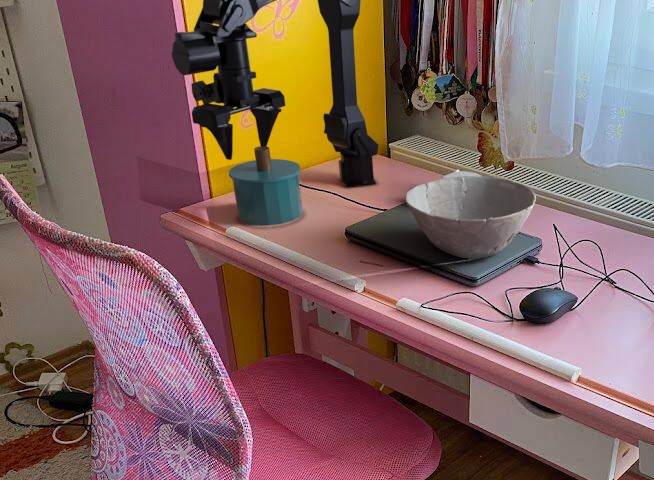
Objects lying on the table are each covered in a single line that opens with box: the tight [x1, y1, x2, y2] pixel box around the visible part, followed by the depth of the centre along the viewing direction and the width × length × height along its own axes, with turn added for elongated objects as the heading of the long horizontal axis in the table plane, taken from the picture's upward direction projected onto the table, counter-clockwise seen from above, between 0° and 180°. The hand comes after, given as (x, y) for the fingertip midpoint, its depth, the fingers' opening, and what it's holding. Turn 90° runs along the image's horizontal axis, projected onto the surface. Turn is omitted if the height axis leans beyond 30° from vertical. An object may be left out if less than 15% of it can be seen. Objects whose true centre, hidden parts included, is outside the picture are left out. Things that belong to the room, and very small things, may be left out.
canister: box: [231, 173, 304, 227], centre depth 166 cm, size 12×12×9 cm
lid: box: [228, 145, 301, 183], centre depth 163 cm, size 13×13×5 cm
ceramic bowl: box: [405, 175, 537, 260], centre depth 150 cm, size 22×23×10 cm
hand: (246, 153), depth 164 cm, fingers open, 9 cm apart
